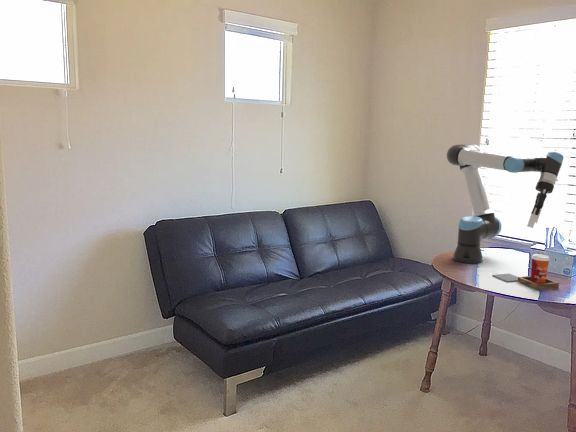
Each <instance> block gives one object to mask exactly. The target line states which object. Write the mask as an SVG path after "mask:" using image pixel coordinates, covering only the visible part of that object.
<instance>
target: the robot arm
mask: <svg viewBox="0 0 576 432" xmlns="http://www.w3.org/2000/svg"><path fill="white" fill-rule="evenodd" d="M564 158H565V157H564V155H563V154H562V153H560V152H556V151H549V152H547V154H546V155H545V156H537V155H533V156H532V155H524V156H517V155H516V156H515V155H509V154H508V155H507V154H499V153H490V152H485V151H484V152H483V149H482V148H481V147H480V146H478V145H476V144H473V143H471V144H470V143H469V144H455V145H452V146H450V147H449V148H448V150H447V152H446V159H447V162H448V163H449V164H450V165H453V166H459V169H460V171H461V172H463V175H464V178H465V182H466V186H467V191H468V195H469V199H470V202H471V207H472V211H473V214H472V216H470V215H469V216H463V217H461V218H460V219H459V223H458V232H457V233H458V236H457V244H456V246H455V250H454V252H453V255H452V259H453V260H454V261H456V262H458V261H459V263H463V264H473V265H474V264H481V263H483V254H482V250H481V249H482V248H481V244H482V243H481V242H482V240H489V239H492V238H496V237H497V236H499V234H500V233H501V231H502V222H501V220H500V219H499V218H498V217H496V216H495V212H494V211H493V210H491V208H490V205H489V201H488V196H487V192H486V188H485V183H484V180H483V176H482V172H481V167H482V168H487V169H494V170H500V171H507V172H508V173H514V174H516V173H517V174H518V173H529V172H537V173H538V172H539V176H538V179H537V182H536V184H535V191H537V194H536V199H535V201H534V206H533V207H532V211H531V213H530V217H529V220H528V223H527V225H526V226H527V227H528V228H531V229H533V228H534V226H535V223H536V224H537V223H538V221H539V217H540V215H541V212H542V209H543V207H544V204H545V201H546V199H547V198H548V197H547V196H548V195H547V194H553V192H554V188H555V185H556V182H558V181H559V180H558V179H557V178H558V175H559V173H560V171H561V168H562V166H563V161H564Z"/></svg>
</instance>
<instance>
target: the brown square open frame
mask: <svg viewBox="0 0 576 432" xmlns="http://www.w3.org/2000/svg"><path fill="white" fill-rule="evenodd" d="M517 277H518V281H516V282H517V283H518V284H521V285H523V286H526V287H529V288H531V289H533V290H535V291H544V290H545V291H546V290H553V289H554V290H555V289H559V286H560V282H558V281H554V280H552V279H549V278H547V277H546V280H545V284H536V283H534V282H531V275H525V276H517Z"/></svg>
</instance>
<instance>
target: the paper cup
mask: <svg viewBox="0 0 576 432" xmlns="http://www.w3.org/2000/svg"><path fill="white" fill-rule="evenodd" d="M549 264H550V256H549V255H547V254H541V253H534V254H533V253H532V256H531V267H530V268H531V270H530V271H531V272H530V276H531V282H534V283H536V284H545V280H546V278H547V274H548V269H549V268H548V267H549Z"/></svg>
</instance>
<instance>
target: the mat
mask: <svg viewBox="0 0 576 432" xmlns="http://www.w3.org/2000/svg"><path fill="white" fill-rule="evenodd" d="M491 276H492V277H494V278H496V279H498V280H500V281H502V282H505V283H513V282H517V281H518V277H519V276H517V275H514V274H512V273H499V274H497V273H496V274H492V275H491Z"/></svg>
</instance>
